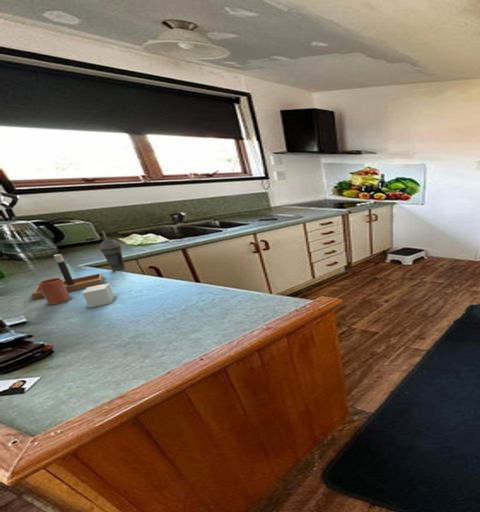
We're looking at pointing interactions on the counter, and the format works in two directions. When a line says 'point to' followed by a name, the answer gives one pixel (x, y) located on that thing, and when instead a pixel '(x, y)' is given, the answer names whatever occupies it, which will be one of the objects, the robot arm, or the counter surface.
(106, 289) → the white cube
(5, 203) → the robot arm
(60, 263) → the marker
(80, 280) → the pen tray
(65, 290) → the cup
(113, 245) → the beverage cup
